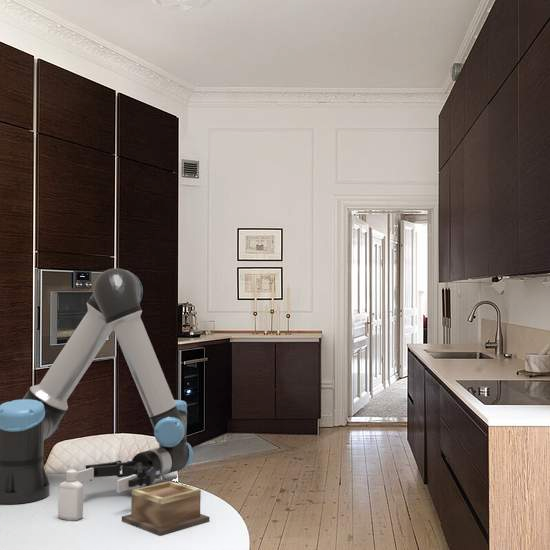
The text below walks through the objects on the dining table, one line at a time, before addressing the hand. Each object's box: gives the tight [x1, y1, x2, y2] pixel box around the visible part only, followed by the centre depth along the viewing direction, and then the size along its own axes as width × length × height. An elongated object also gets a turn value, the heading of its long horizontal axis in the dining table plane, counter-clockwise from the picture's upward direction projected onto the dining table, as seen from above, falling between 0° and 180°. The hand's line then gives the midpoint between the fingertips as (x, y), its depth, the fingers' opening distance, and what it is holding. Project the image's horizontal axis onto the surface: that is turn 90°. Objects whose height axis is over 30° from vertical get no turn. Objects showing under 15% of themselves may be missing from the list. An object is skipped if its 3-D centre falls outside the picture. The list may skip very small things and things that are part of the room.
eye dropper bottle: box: [57, 464, 84, 521], centre depth 159 cm, size 4×6×12 cm
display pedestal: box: [121, 480, 210, 537], centre depth 157 cm, size 14×14×7 cm
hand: (95, 482), depth 165 cm, fingers open, 13 cm apart
